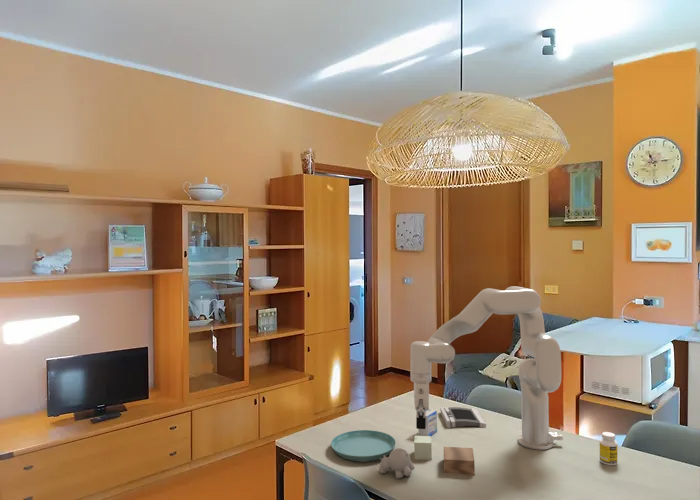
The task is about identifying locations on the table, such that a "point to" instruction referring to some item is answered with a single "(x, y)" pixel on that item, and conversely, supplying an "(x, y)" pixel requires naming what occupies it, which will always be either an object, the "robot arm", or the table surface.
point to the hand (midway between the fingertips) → (420, 423)
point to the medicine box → (429, 423)
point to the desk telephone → (461, 417)
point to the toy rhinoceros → (397, 463)
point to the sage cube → (422, 447)
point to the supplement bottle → (608, 449)
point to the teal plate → (363, 445)
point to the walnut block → (459, 461)
